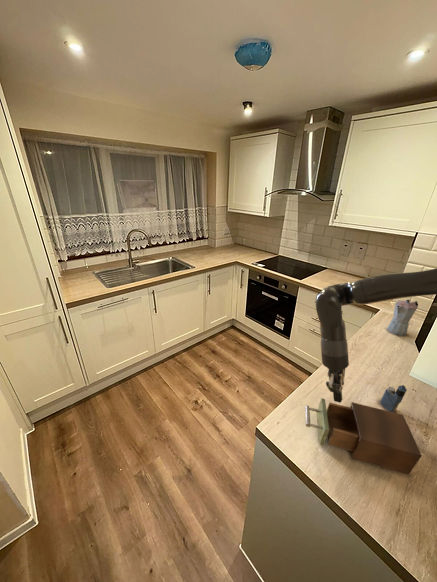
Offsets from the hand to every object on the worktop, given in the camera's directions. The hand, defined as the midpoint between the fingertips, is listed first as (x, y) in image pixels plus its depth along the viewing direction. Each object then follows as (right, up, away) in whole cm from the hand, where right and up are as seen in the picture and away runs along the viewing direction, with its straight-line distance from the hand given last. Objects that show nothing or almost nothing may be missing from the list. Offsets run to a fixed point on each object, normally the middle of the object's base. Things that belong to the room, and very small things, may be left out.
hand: (338, 400), depth 75 cm
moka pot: (+61, +13, +55) cm, 83 cm away
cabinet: (+10, -13, -2) cm, 16 cm away
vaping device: (+23, -7, +10) cm, 27 cm away
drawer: (-2, -10, 0) cm, 10 cm away
